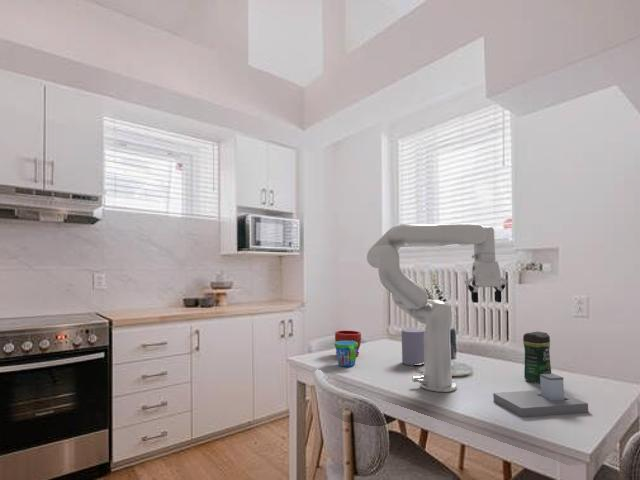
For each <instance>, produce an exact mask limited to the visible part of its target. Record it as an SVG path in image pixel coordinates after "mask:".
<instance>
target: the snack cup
mask: <svg viewBox="0 0 640 480" xmlns="http://www.w3.org/2000/svg"><path fill="white" fill-rule="evenodd" d="M357 346H358V343H357V342H355V341H353V340H352V341H347V340H346V341H338V342H334V347H335V353H336V352H337V354H336V358H337V364H338V366H340V367H346V368H347V367H354V366H355V365H356V360H357V356H356V351H357Z"/></svg>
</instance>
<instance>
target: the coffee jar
mask: <svg viewBox="0 0 640 480" xmlns="http://www.w3.org/2000/svg"><path fill="white" fill-rule="evenodd" d="M550 337H551V336H550V335H549V334H548V333H547V332H544V331H533V332H526V333H525V334H523V337H522V340H523V341H522V342H523V347H524V372H523V373H524V379H525V380H527V381H528V382H530V383H533V384H535V383H537V384H540V374H552V366H551V356H550V349H551V348H550V347H551V339H550Z"/></svg>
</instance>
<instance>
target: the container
mask: <svg viewBox="0 0 640 480" xmlns="http://www.w3.org/2000/svg"><path fill="white" fill-rule="evenodd" d="M424 331H425V329H421V328H403V329H401V358H402V360H401V361H402V364H404V365H405V366H410V367H415V366H414V365H415V364H419V363H423V362H424Z"/></svg>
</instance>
